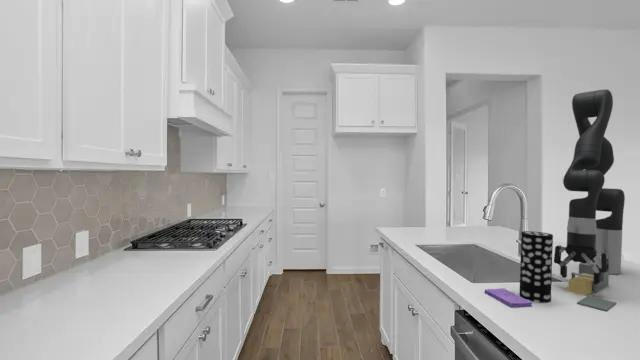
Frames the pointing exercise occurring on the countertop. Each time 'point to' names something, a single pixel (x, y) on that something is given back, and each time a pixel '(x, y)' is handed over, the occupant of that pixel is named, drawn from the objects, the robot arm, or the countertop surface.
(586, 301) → the mat
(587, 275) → the dispenser
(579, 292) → the wooden block
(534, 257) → the white-spotted black cylinder
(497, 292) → the sponges
